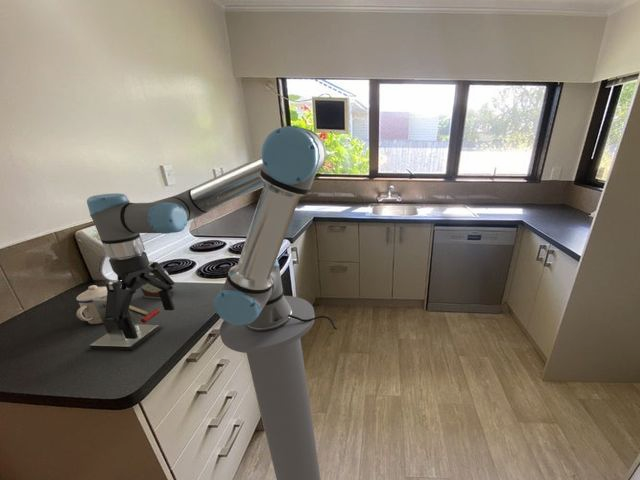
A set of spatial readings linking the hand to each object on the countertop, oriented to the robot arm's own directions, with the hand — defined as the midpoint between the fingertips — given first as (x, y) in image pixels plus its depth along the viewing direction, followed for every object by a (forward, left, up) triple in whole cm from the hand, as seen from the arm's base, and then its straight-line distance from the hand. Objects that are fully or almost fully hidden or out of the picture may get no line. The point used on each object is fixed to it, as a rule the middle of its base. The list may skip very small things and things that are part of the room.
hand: (152, 322), depth 83 cm
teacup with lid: (+27, -9, -6) cm, 29 cm away
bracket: (+10, 0, -6) cm, 11 cm away
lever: (+6, 0, +4) cm, 7 cm away
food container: (+20, -26, -6) cm, 33 cm away
